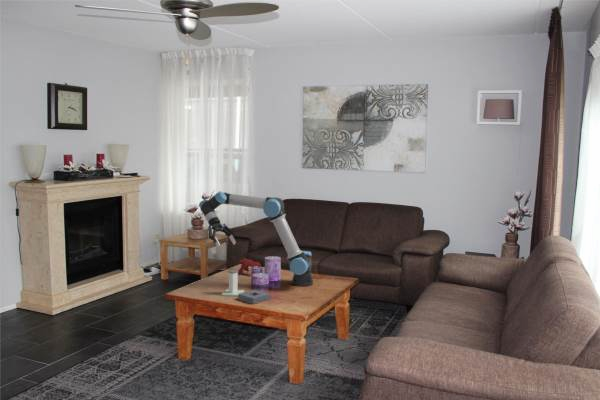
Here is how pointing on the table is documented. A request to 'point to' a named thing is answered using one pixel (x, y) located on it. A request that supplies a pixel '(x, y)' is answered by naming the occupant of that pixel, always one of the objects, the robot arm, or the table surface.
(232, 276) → the plug
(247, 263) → the decorative bird sculpture
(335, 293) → the table surface
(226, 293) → the pad
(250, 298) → the grey square socket block
